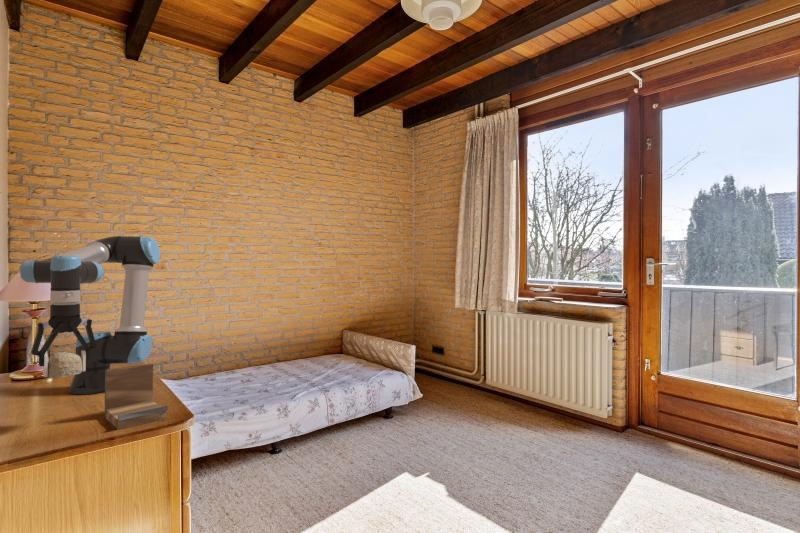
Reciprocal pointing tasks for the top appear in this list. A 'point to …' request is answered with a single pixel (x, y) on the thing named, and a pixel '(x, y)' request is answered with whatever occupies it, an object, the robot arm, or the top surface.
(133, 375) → the board
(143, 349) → the robot arm
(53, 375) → the sponge
